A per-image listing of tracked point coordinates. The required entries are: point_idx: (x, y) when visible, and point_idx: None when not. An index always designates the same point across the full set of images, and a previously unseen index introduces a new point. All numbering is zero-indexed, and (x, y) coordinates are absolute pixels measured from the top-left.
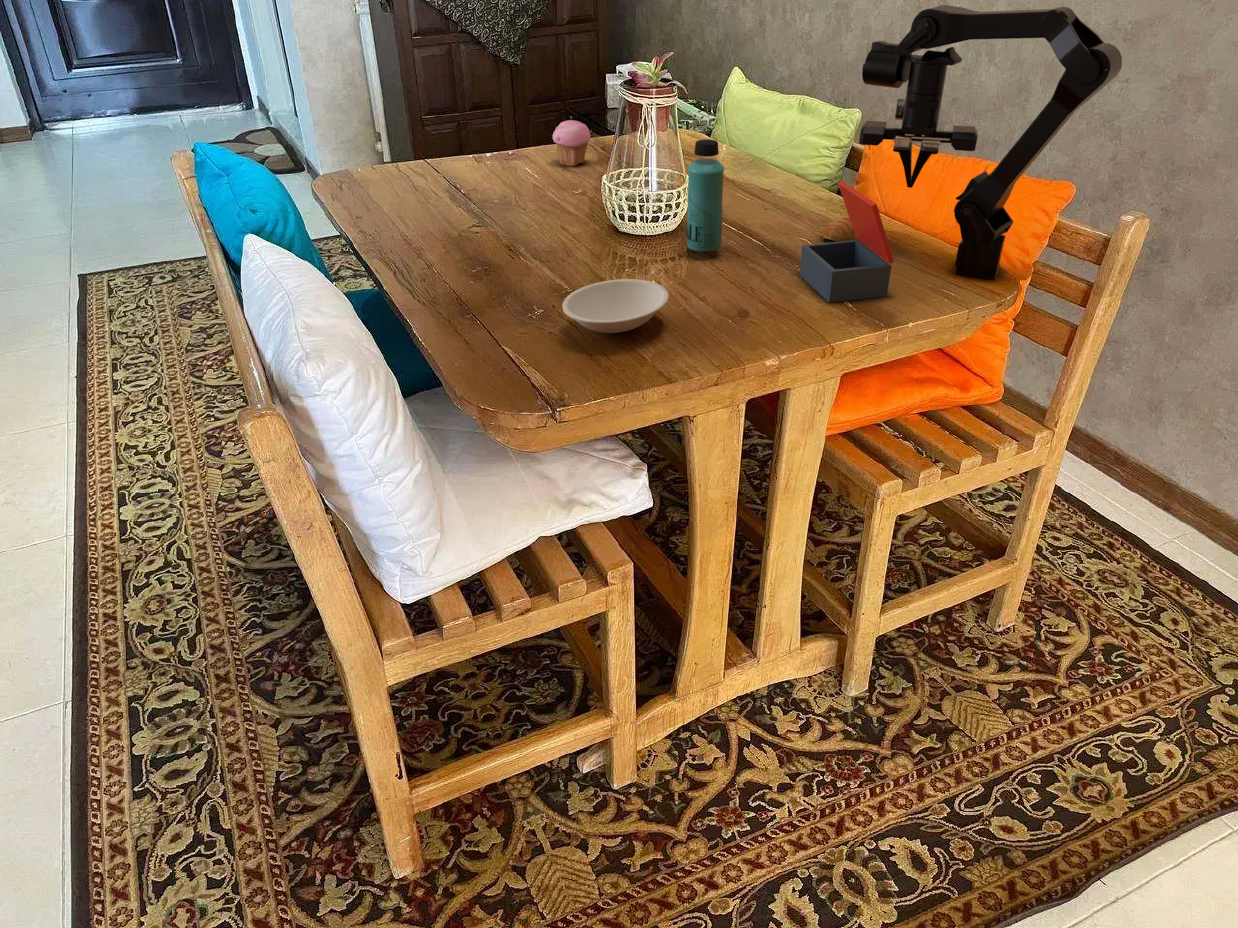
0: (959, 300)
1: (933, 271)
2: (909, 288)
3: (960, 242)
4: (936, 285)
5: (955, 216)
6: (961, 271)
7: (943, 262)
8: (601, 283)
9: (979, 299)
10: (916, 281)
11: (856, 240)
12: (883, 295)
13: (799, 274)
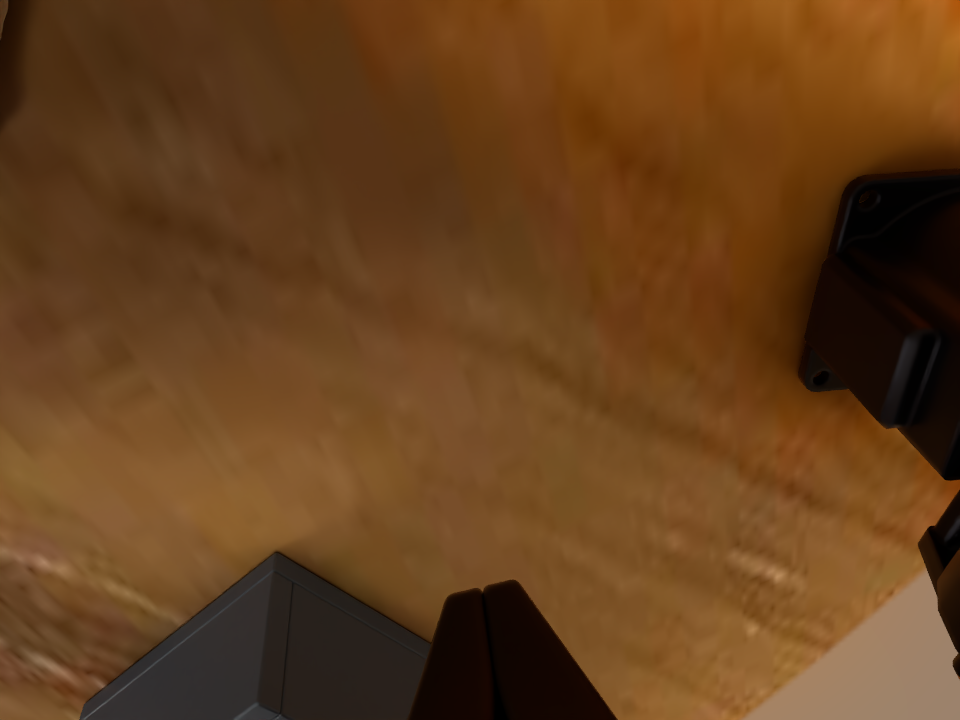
0: (804, 607)
1: (679, 386)
2: (594, 604)
3: (895, 401)
4: (706, 529)
5: (946, 616)
6: (836, 377)
7: (728, 224)
8: None
9: (886, 567)
10: (611, 532)
11: (257, 714)
12: None
13: (84, 707)
